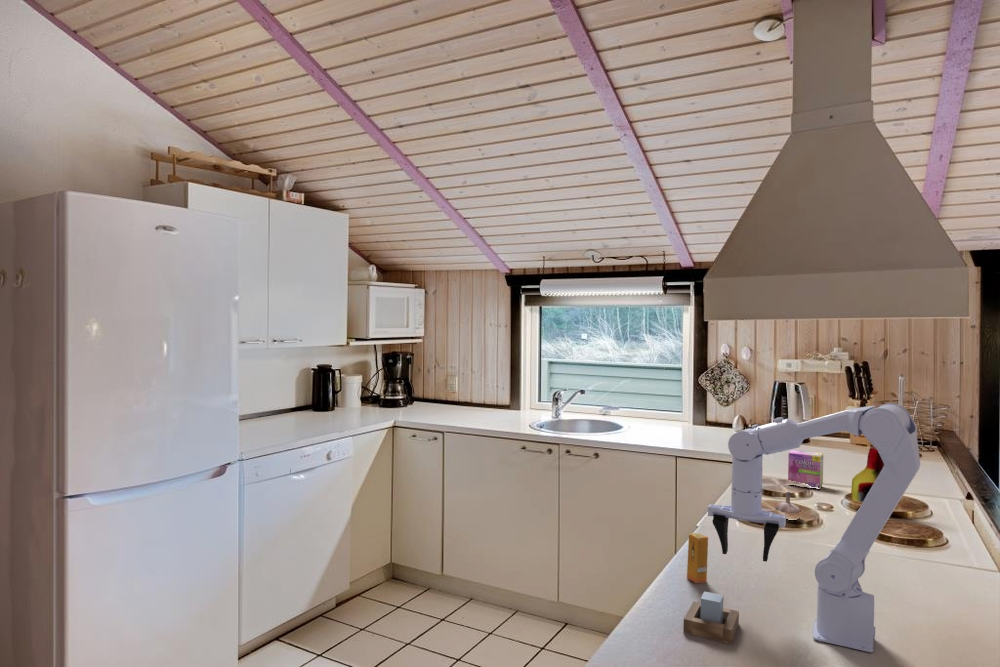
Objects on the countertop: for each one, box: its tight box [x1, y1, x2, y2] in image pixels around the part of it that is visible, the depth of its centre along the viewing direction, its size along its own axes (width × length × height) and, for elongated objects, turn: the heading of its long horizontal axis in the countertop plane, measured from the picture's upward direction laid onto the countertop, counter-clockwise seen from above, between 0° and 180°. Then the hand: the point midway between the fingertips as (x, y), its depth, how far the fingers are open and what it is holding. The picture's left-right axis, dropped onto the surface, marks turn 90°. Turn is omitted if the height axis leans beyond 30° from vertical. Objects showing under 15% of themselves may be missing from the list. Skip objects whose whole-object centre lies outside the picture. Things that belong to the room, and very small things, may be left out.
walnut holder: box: [682, 601, 740, 644], centre depth 122 cm, size 8×8×2 cm
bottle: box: [850, 445, 884, 502], centre depth 197 cm, size 12×6×20 cm, turn 50°
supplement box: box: [686, 533, 709, 584], centre depth 144 cm, size 3×3×10 cm
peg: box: [700, 591, 724, 624], centre depth 122 cm, size 4×4×6 cm
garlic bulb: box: [774, 491, 802, 513], centre depth 189 cm, size 8×7×8 cm
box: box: [787, 449, 824, 489], centre depth 226 cm, size 10×6×12 cm, turn 55°
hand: (744, 556), depth 131 cm, fingers open, 7 cm apart
